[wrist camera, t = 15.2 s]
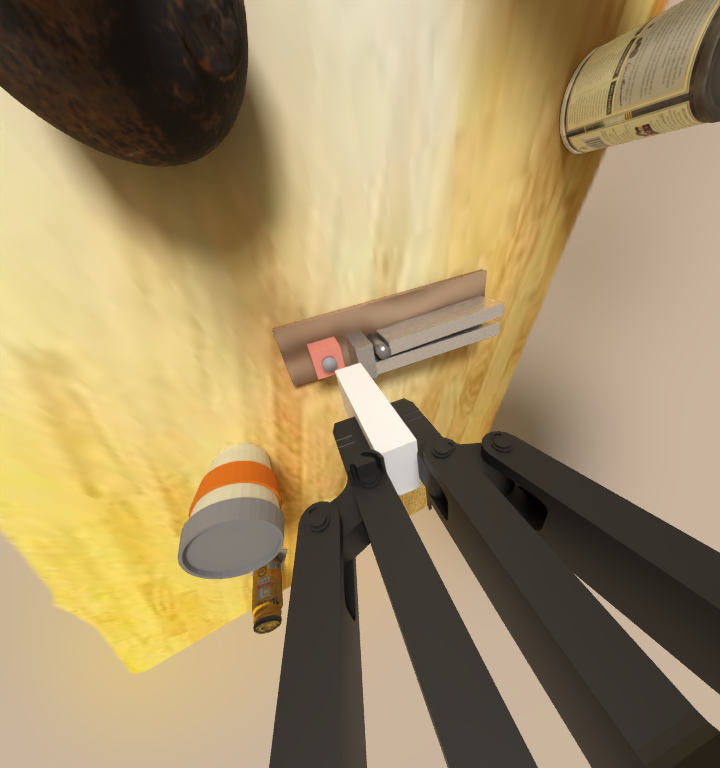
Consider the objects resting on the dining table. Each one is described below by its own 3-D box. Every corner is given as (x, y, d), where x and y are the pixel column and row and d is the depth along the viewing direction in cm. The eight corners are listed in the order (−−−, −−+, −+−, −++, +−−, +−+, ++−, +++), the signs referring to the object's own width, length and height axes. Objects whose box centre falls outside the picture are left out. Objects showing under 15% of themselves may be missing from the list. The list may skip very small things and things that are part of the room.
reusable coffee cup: (269, 425, 43) (271, 503, 31) (287, 476, 50) (295, 556, 38) (186, 447, 41) (153, 542, 28) (217, 497, 47) (200, 592, 35)
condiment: (249, 574, 62) (247, 640, 52) (253, 552, 58) (251, 619, 48) (282, 569, 64) (285, 630, 55) (287, 547, 61) (291, 609, 51)
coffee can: (636, 36, 32) (845, -71, 21) (610, 146, 38) (763, 109, 26) (568, 50, 31) (750, -57, 19) (551, 162, 37) (685, 131, 25)
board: (272, 328, 36) (272, 331, 35) (481, 269, 41) (486, 270, 40) (293, 382, 41) (294, 386, 40) (477, 323, 46) (482, 325, 45)
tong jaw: (363, 334, 39) (377, 348, 34) (480, 295, 42) (507, 303, 37) (366, 346, 40) (380, 361, 35) (479, 307, 43) (506, 317, 38)
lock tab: (306, 344, 37) (311, 356, 34) (333, 336, 38) (341, 347, 34) (314, 368, 39) (319, 382, 36) (340, 360, 40) (347, 373, 36)
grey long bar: (345, 336, 39) (355, 349, 34) (479, 296, 42) (502, 303, 38) (352, 366, 41) (362, 382, 37) (477, 326, 45) (498, 336, 41)
